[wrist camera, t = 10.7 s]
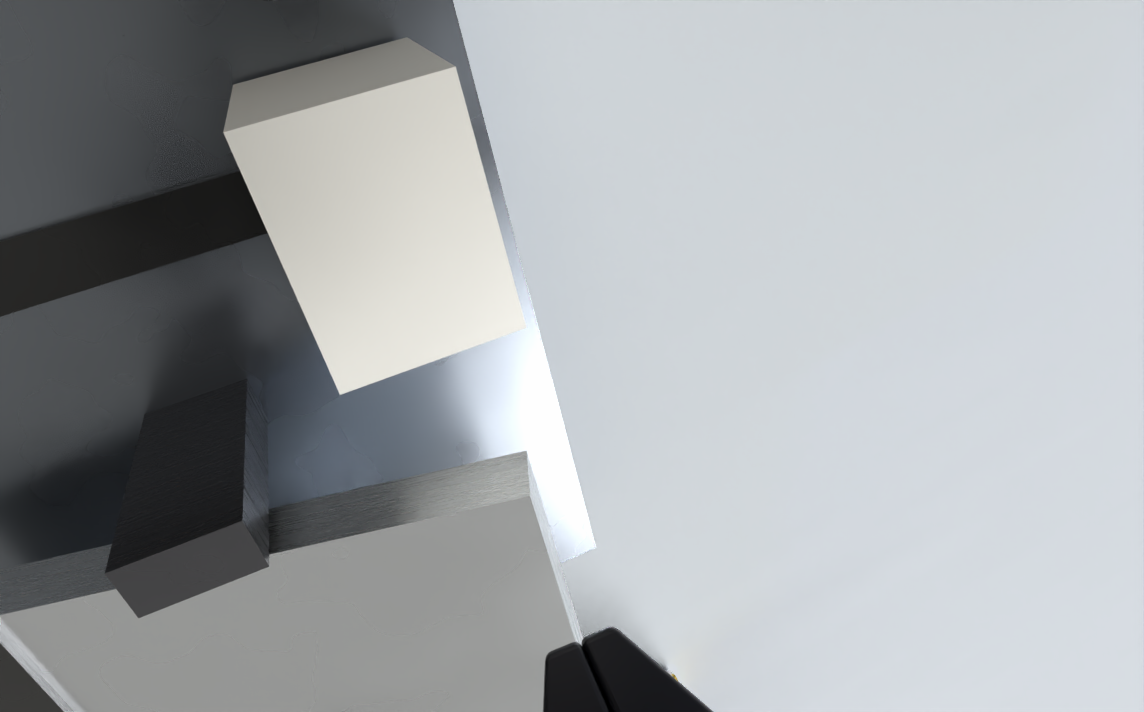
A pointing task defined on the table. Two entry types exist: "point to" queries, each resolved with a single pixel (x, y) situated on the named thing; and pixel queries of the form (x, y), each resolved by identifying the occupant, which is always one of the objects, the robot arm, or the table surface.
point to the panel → (206, 304)
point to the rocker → (316, 612)
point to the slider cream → (376, 207)
